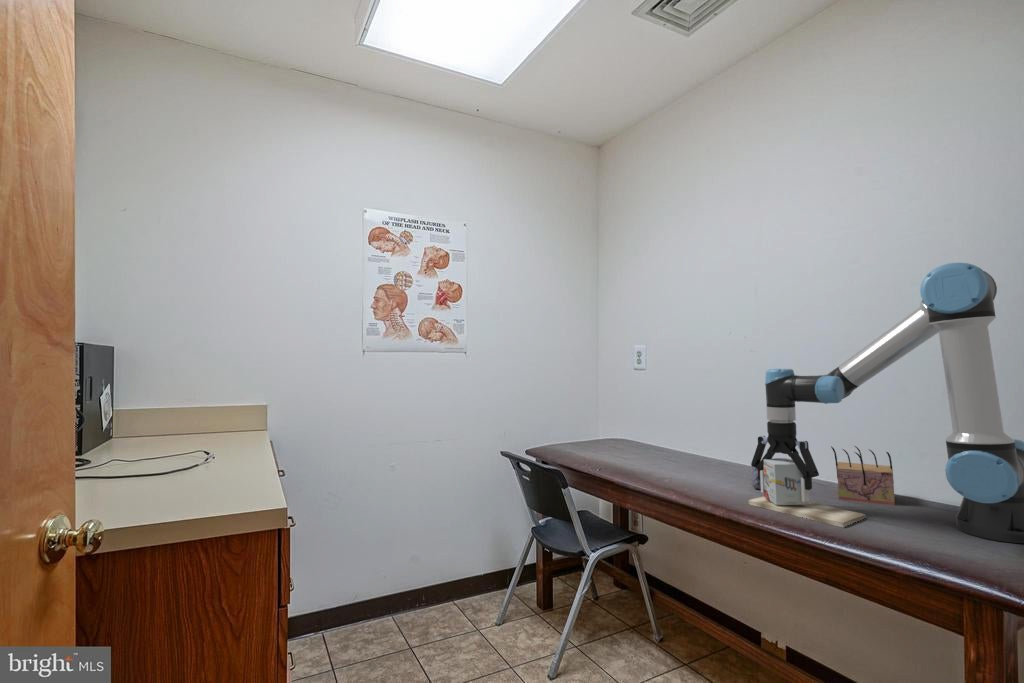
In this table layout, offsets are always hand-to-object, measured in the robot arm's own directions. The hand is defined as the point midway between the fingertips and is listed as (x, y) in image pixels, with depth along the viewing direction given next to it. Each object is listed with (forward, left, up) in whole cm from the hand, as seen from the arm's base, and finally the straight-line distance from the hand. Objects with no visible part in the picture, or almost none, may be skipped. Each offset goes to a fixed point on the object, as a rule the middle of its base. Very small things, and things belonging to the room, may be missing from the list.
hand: (784, 496), depth 147 cm
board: (-5, 0, -3) cm, 6 cm away
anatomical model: (-8, -28, -3) cm, 29 cm away
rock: (+16, -16, -3) cm, 23 cm away
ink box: (0, 0, -2) cm, 2 cm away
